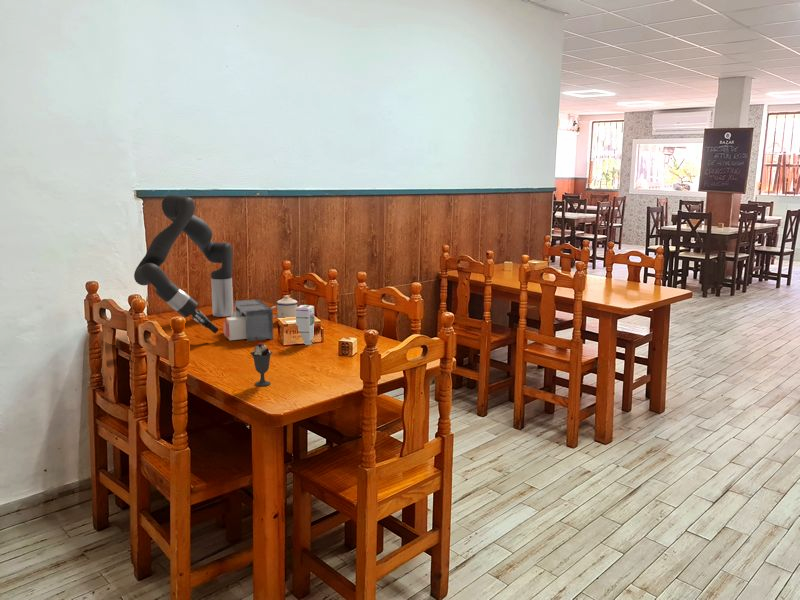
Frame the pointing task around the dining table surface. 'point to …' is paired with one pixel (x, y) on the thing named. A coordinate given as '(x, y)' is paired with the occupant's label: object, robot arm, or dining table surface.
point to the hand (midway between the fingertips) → (216, 331)
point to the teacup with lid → (285, 307)
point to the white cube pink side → (235, 328)
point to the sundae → (261, 362)
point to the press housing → (256, 318)
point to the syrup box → (305, 322)
